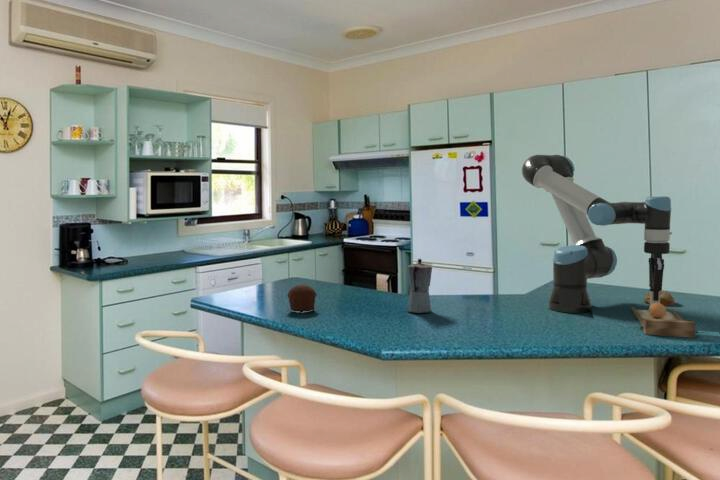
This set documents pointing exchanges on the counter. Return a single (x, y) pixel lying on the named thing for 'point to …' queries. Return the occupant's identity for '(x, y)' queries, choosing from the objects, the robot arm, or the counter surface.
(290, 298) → the muffin
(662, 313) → the ball
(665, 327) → the lane
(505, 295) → the counter surface
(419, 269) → the moka pot
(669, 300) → the bread roll
